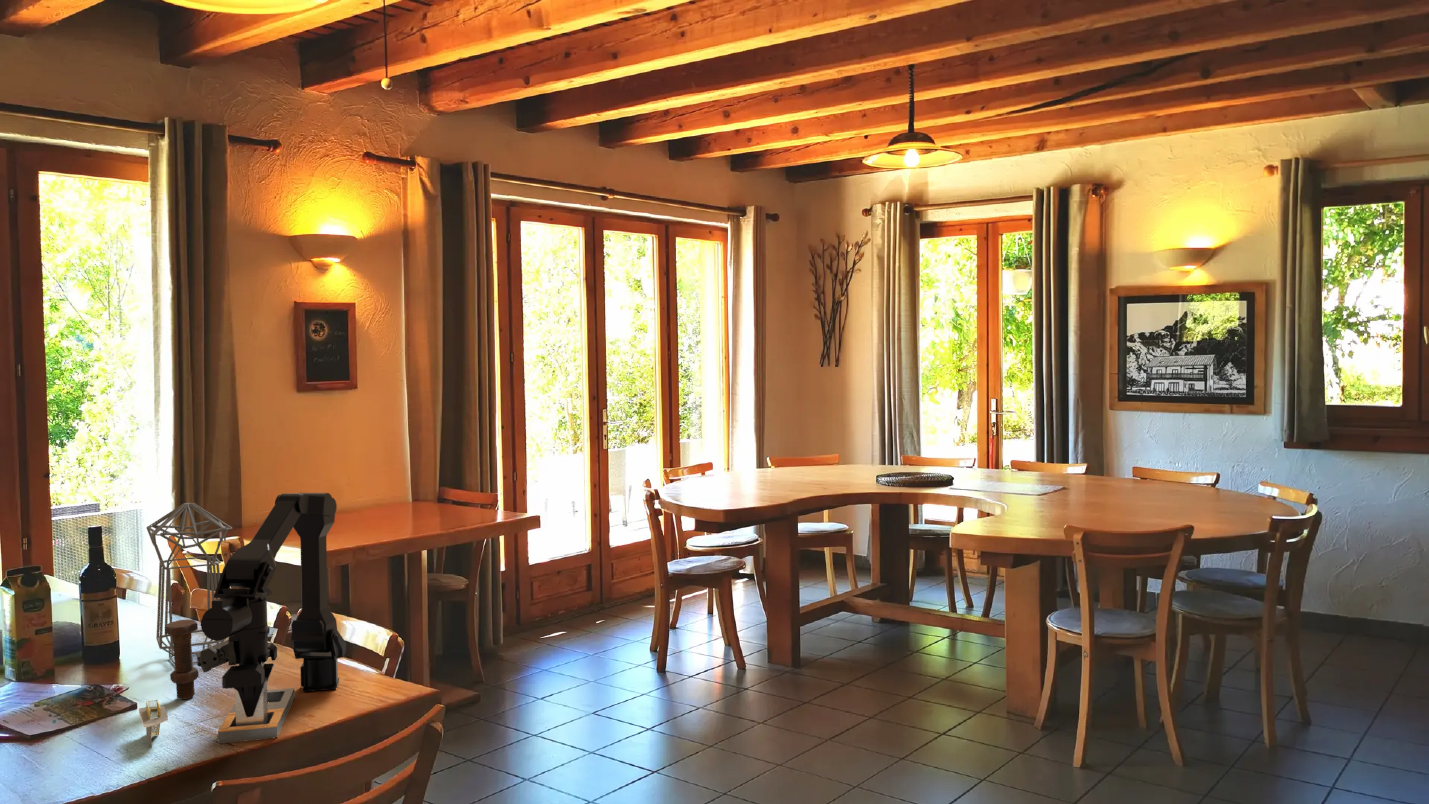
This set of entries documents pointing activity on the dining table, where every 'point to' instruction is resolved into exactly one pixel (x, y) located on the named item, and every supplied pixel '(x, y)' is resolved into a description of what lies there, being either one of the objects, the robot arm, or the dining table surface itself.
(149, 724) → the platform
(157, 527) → the geometric lantern
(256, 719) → the nut block
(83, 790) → the dining table surface
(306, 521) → the robot arm
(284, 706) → the rail plate
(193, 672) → the bolt
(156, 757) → the dining table surface
